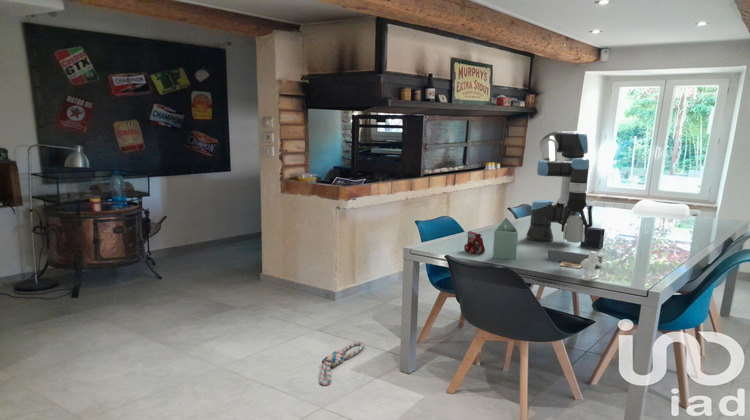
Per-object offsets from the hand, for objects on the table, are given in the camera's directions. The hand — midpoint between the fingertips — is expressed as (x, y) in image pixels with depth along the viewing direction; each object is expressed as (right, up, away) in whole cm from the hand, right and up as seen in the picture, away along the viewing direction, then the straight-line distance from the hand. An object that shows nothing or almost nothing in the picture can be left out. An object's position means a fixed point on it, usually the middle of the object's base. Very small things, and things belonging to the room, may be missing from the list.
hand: (573, 239), depth 230 cm
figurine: (0, -16, -19) cm, 25 cm away
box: (+28, -7, +44) cm, 53 cm away
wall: (+4, -11, +8) cm, 15 cm away
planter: (-26, -10, +15) cm, 32 cm away
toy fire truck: (-42, -8, +24) cm, 49 cm away
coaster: (0, -12, +2) cm, 12 cm away
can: (0, -1, 0) cm, 1 cm away
